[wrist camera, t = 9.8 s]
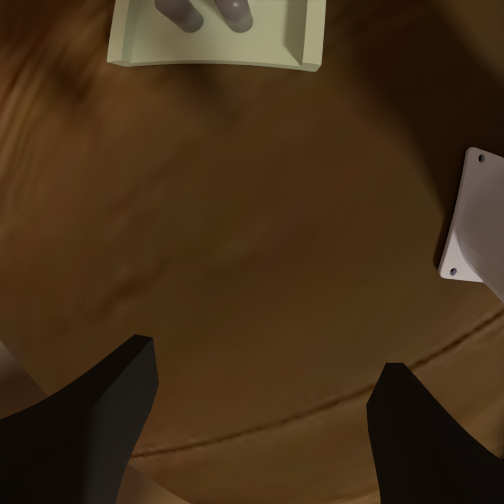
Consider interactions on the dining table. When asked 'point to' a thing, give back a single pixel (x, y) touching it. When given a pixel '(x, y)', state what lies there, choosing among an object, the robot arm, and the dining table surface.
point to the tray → (218, 33)
